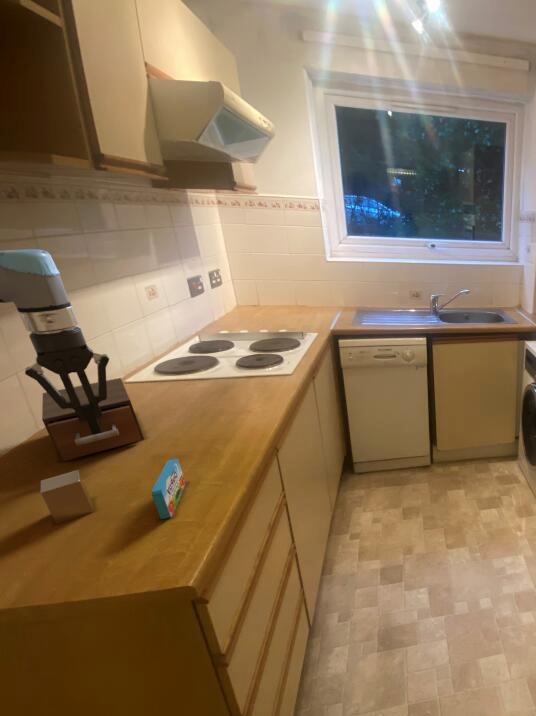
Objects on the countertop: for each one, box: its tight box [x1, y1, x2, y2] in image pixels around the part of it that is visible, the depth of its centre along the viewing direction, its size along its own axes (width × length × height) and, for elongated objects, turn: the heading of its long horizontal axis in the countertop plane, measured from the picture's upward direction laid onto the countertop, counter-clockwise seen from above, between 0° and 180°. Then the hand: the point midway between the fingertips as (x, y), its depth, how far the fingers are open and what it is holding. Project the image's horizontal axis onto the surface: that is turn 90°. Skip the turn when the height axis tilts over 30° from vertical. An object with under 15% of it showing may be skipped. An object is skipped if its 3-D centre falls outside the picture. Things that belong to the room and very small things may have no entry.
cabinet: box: [41, 377, 145, 463], centre depth 106 cm, size 20×15×11 cm
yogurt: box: [151, 458, 187, 520], centre depth 84 cm, size 12×2×6 cm, turn 24°
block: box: [40, 469, 94, 525], centre depth 80 cm, size 5×5×7 cm
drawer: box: [48, 405, 142, 462], centre depth 103 cm, size 24×14×9 cm, turn 45°
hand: (97, 432), depth 96 cm, fingers closed
